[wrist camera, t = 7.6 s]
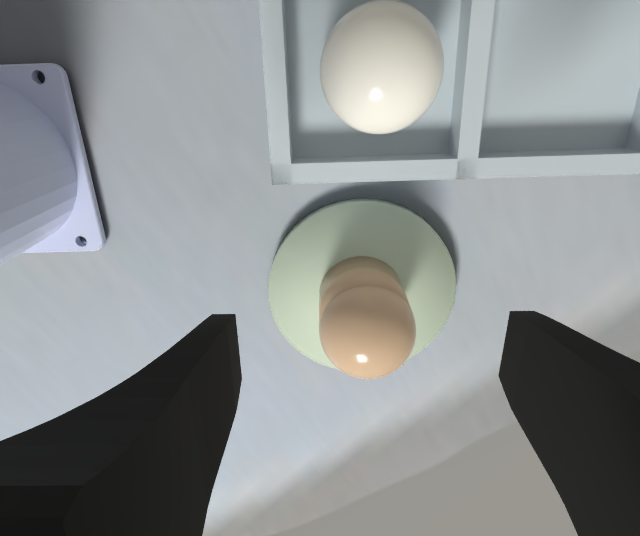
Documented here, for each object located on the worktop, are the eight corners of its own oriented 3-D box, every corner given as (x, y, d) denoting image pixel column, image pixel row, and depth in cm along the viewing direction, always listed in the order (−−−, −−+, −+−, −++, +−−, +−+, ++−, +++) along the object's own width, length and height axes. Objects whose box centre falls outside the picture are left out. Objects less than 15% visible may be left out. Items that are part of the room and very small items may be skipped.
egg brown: (319, 330, 22) (319, 400, 17) (318, 256, 21) (318, 311, 16) (399, 330, 22) (421, 400, 17) (405, 255, 21) (430, 310, 16)
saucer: (276, 364, 24) (275, 373, 23) (262, 201, 20) (260, 205, 20) (444, 360, 24) (448, 369, 23) (459, 195, 20) (465, 200, 20)
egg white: (321, 126, 18) (321, 143, 14) (318, 15, 17) (317, -9, 12) (419, 122, 18) (453, 139, 13) (425, 11, 17) (466, -15, 12)
